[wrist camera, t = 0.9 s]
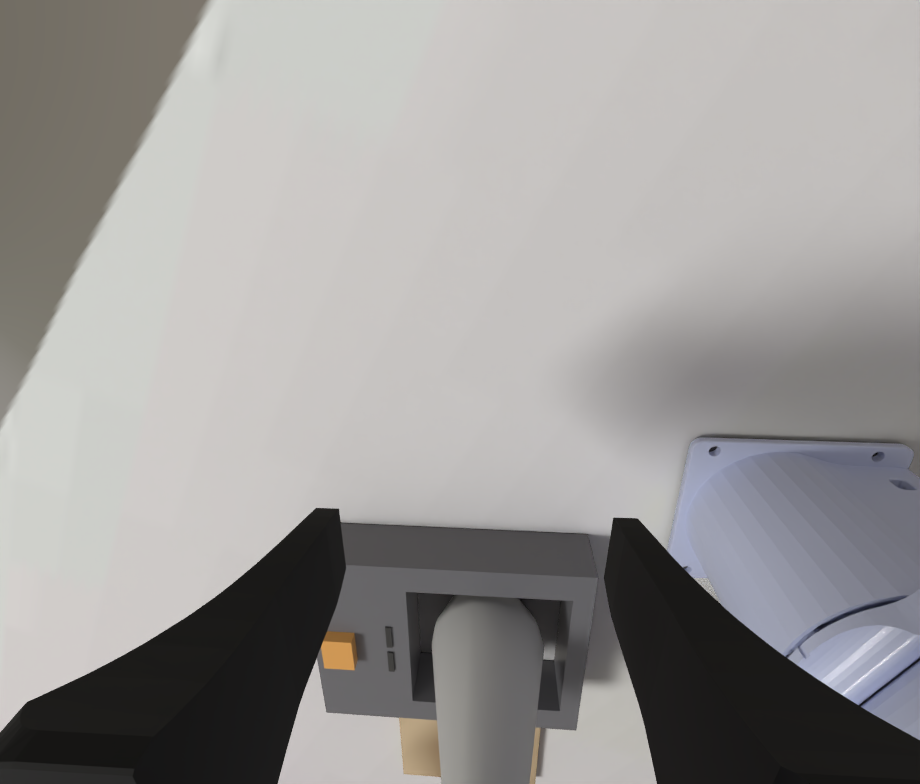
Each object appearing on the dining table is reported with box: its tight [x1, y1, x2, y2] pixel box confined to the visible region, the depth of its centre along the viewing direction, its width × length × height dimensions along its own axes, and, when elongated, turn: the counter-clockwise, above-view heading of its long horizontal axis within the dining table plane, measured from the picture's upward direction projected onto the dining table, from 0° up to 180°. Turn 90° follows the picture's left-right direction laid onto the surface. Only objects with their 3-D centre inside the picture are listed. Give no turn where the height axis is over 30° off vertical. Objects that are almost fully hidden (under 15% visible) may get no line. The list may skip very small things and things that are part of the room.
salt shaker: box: [432, 595, 544, 784], centre depth 22 cm, size 6×6×13 cm
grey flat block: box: [317, 523, 598, 730], centre depth 27 cm, size 14×11×4 cm
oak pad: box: [399, 718, 540, 784], centre depth 32 cm, size 9×9×1 cm
